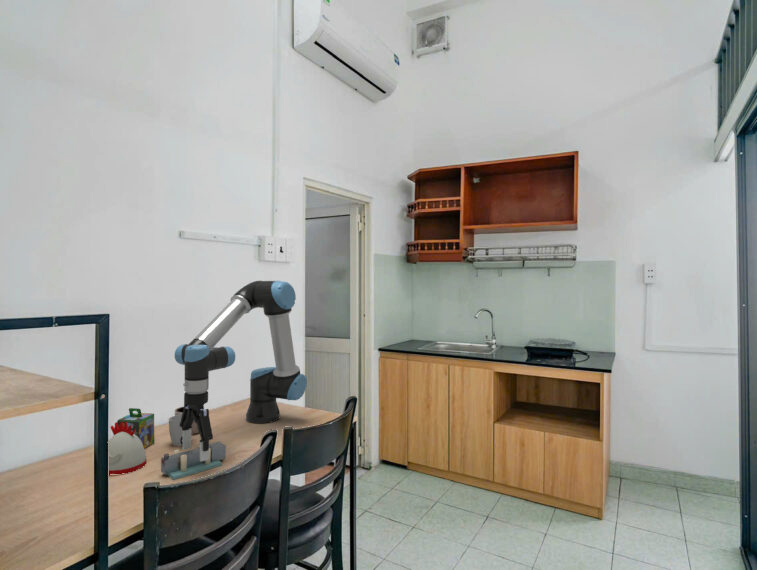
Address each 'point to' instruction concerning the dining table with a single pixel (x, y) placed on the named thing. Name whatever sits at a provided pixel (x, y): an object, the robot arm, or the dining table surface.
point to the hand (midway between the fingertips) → (195, 454)
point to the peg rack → (194, 469)
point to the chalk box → (140, 425)
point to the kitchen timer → (125, 450)
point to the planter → (194, 425)
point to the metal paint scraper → (191, 458)
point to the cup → (176, 430)
